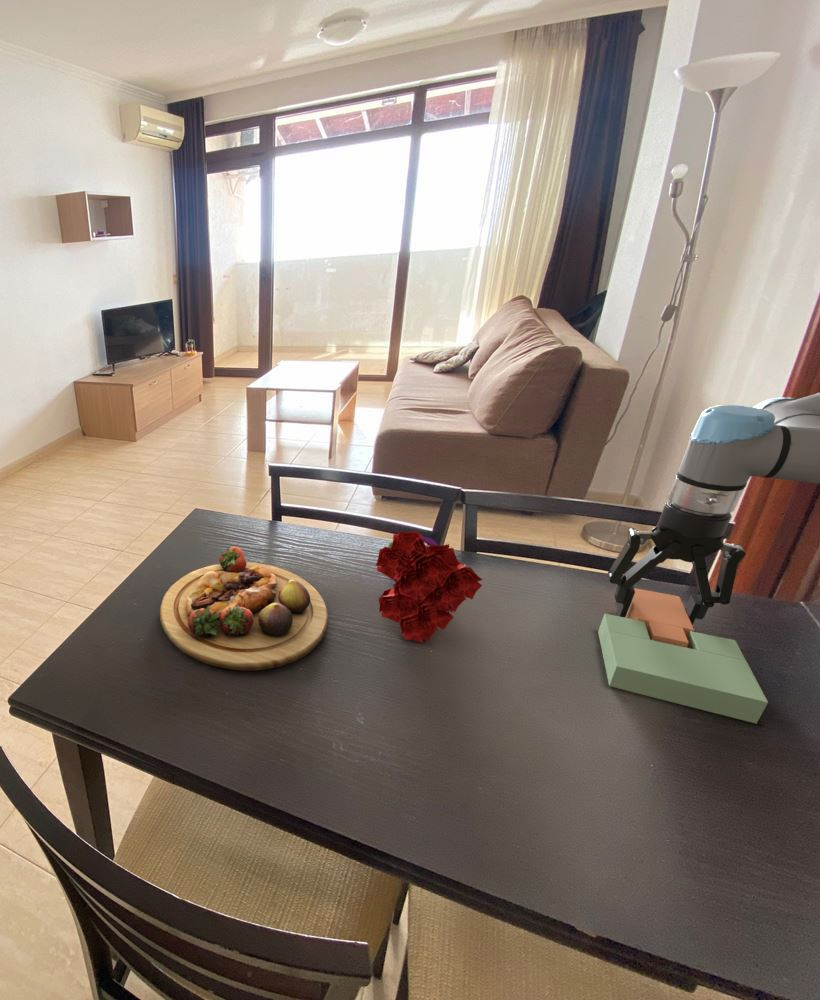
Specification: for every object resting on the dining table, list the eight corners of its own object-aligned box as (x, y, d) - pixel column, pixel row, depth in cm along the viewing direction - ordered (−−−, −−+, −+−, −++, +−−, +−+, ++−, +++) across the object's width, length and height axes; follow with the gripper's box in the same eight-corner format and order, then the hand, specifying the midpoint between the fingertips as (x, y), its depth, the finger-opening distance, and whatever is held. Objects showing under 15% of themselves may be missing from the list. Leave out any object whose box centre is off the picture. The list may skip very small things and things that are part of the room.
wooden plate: (180, 564, 123) (178, 533, 119) (326, 576, 114) (328, 542, 110) (140, 661, 95) (135, 623, 92) (328, 686, 86) (331, 646, 83)
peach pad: (672, 614, 95) (679, 596, 93) (692, 665, 84) (701, 645, 83) (621, 604, 98) (627, 586, 97) (634, 652, 88) (642, 632, 86)
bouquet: (434, 584, 119) (477, 651, 90) (355, 579, 123) (372, 641, 94) (443, 498, 114) (490, 539, 86) (361, 495, 118) (380, 534, 90)
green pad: (725, 660, 85) (735, 640, 83) (756, 723, 74) (768, 702, 72) (597, 632, 92) (604, 613, 91) (609, 686, 82) (616, 666, 80)
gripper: (617, 505, 85) (578, 620, 95) (804, 530, 75) (739, 656, 85) (611, 486, 91) (574, 597, 101) (784, 507, 81) (724, 628, 91)
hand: (650, 624), depth 93 cm, fingers open, 8 cm apart
